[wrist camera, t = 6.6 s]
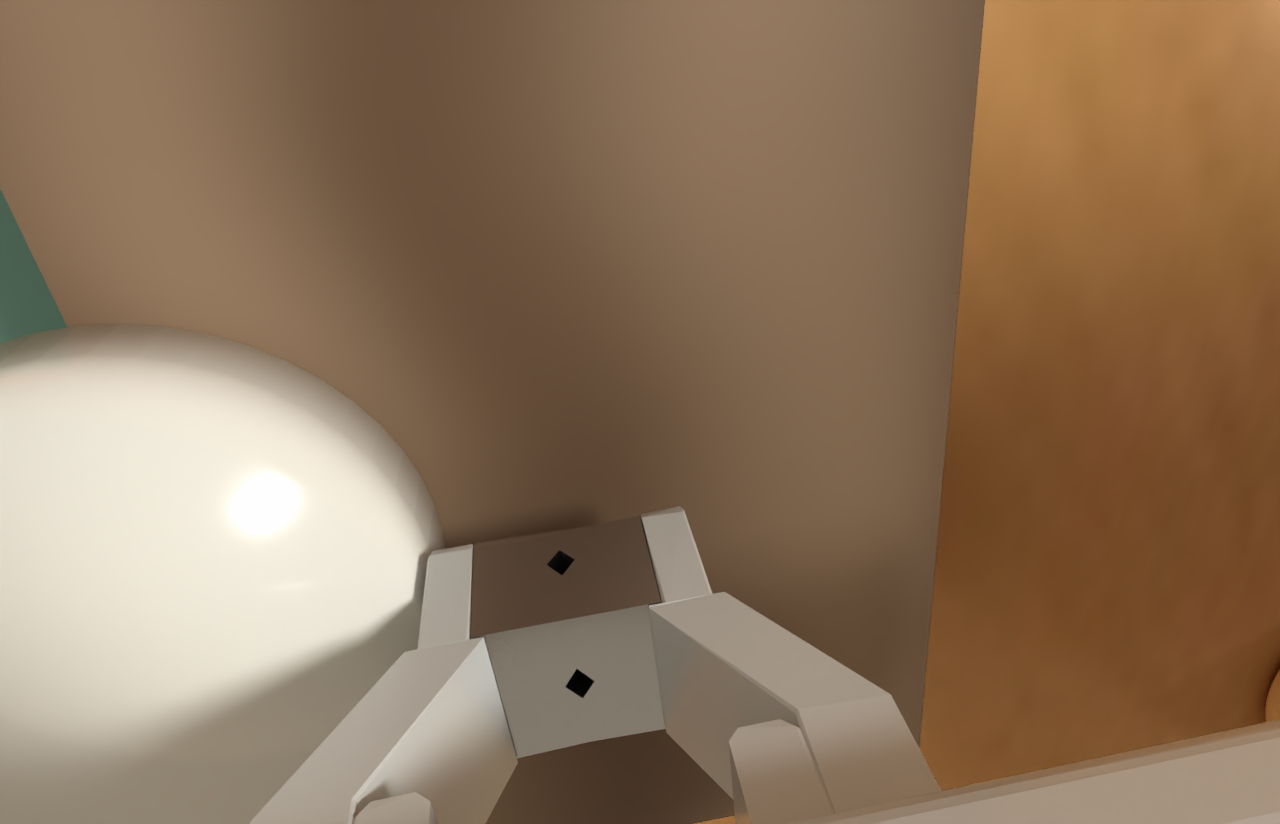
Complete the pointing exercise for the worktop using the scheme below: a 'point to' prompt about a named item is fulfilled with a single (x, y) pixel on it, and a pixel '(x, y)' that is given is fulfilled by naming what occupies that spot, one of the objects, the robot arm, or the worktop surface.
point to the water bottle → (1273, 700)
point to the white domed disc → (188, 572)
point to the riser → (555, 273)
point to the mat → (22, 285)
